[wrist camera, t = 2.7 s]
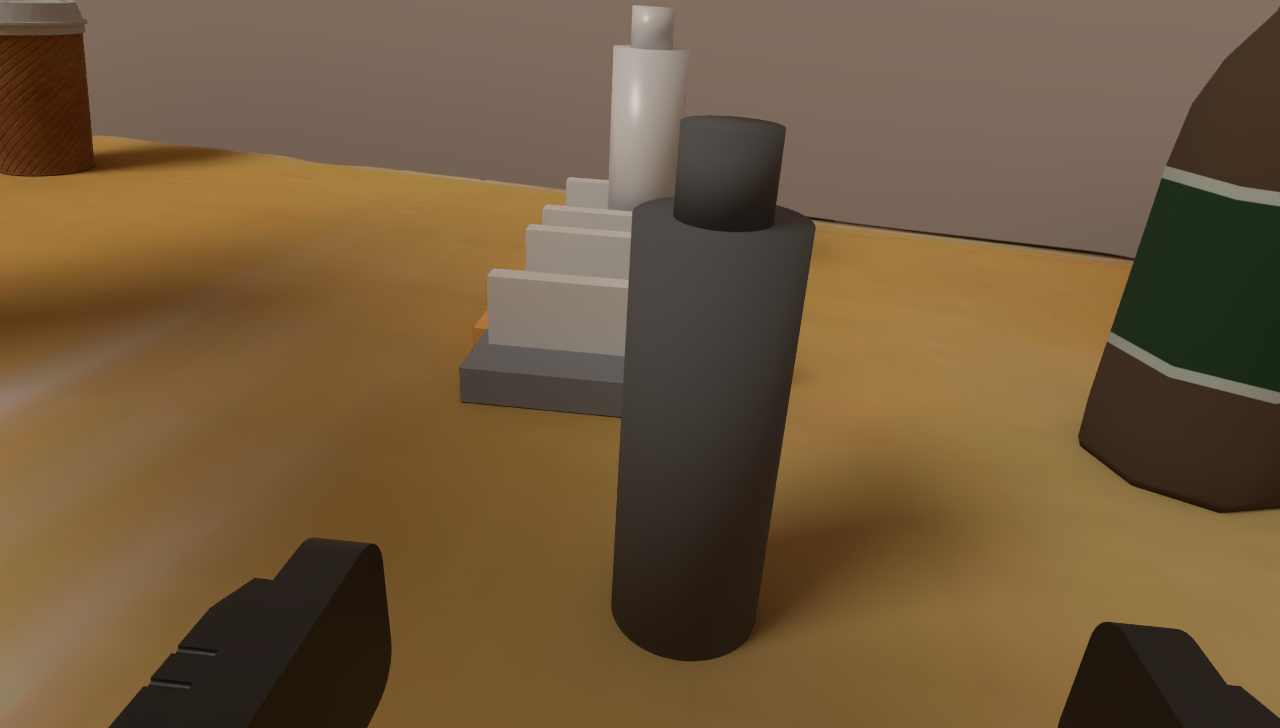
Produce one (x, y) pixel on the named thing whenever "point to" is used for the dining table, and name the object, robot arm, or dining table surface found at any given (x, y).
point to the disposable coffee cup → (43, 89)
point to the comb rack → (558, 313)
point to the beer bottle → (1204, 306)
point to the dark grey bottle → (706, 389)
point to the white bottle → (646, 110)
